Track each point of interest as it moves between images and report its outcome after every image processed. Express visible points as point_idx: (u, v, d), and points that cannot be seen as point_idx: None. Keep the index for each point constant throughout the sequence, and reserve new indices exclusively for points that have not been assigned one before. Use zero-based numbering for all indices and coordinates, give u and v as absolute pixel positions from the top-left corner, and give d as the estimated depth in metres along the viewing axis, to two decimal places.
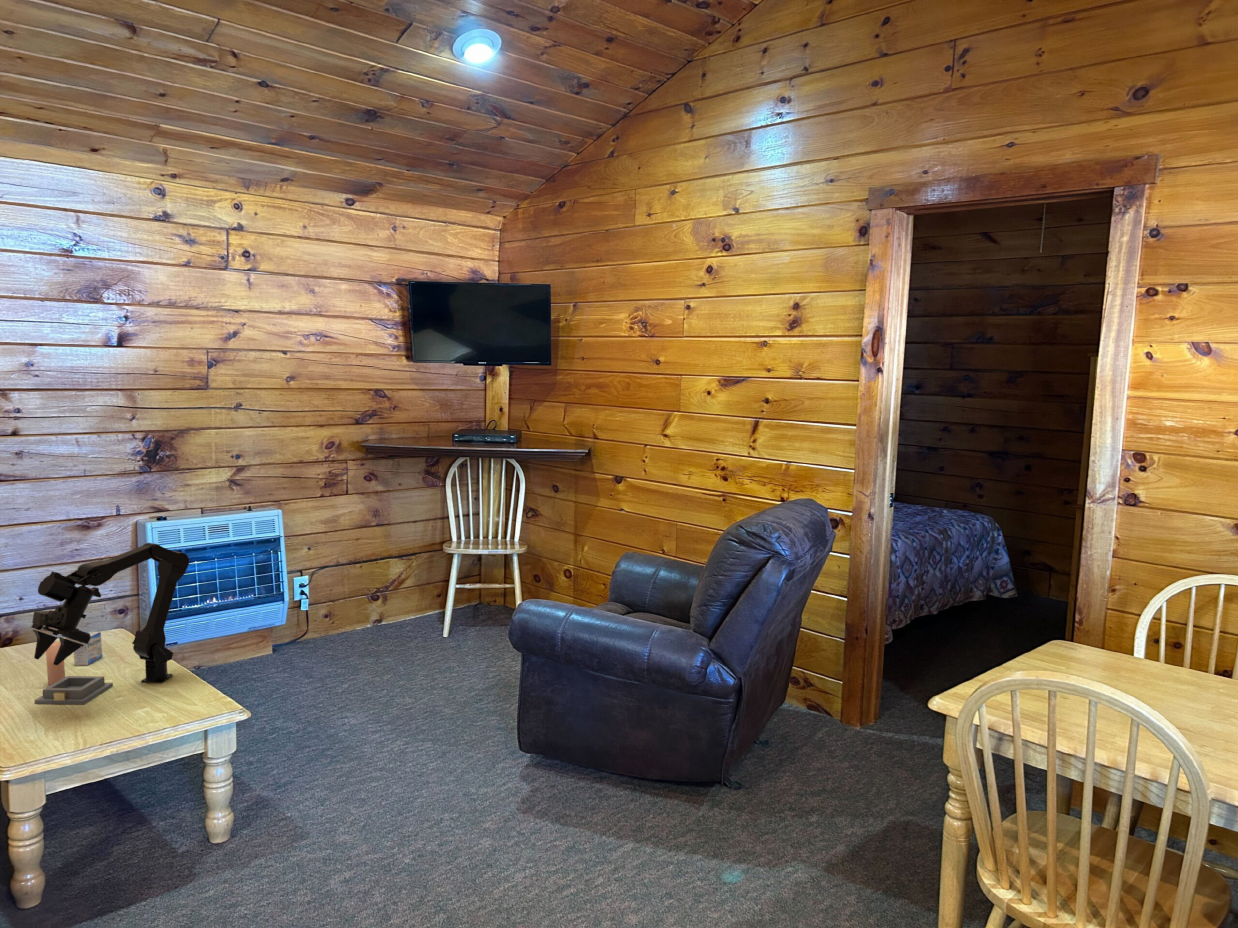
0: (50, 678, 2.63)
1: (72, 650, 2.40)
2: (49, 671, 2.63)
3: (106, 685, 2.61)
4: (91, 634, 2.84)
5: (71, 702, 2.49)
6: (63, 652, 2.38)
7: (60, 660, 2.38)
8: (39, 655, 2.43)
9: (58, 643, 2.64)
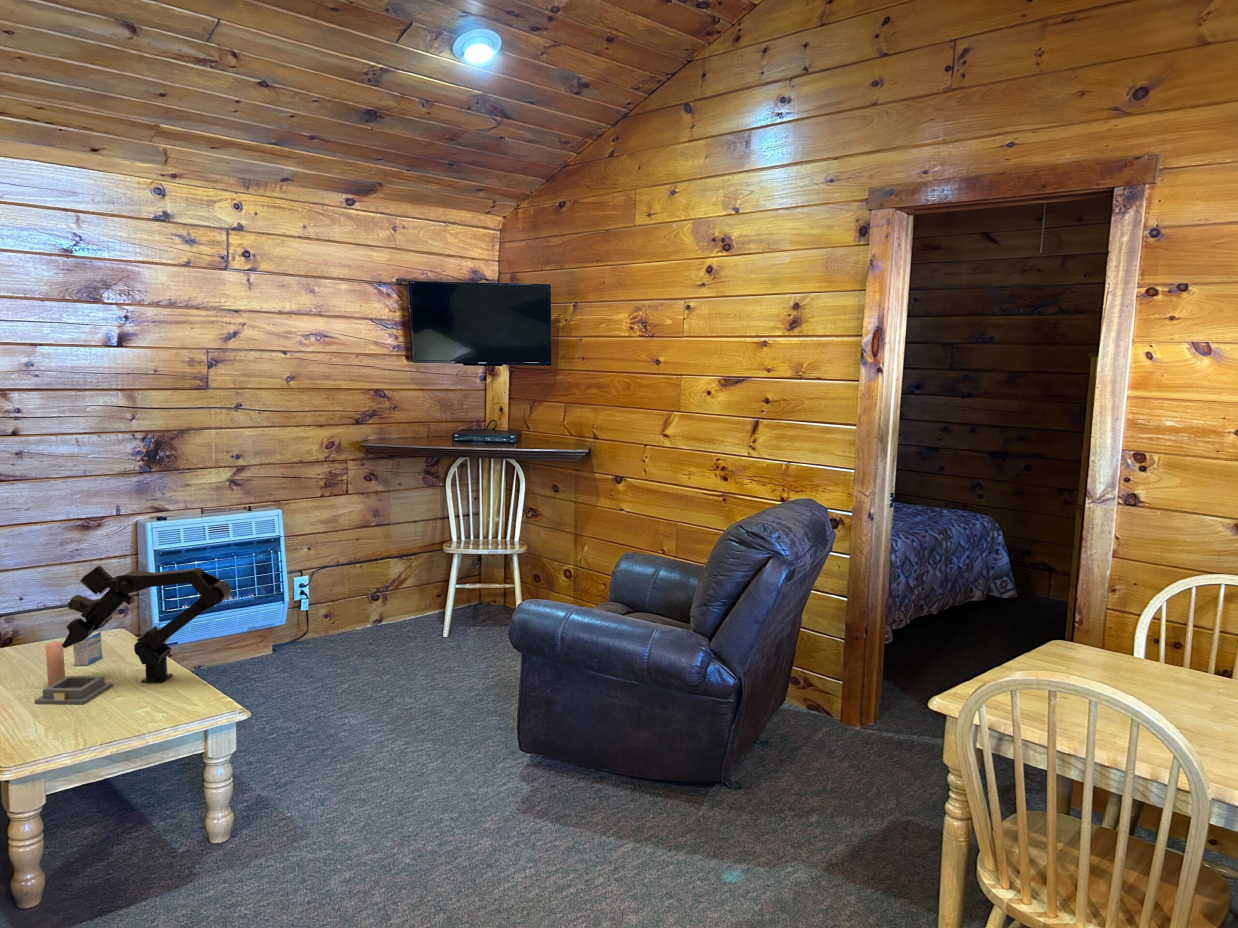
0: (50, 678, 2.63)
1: (76, 640, 2.59)
2: (49, 671, 2.63)
3: (106, 685, 2.61)
4: (91, 634, 2.84)
5: (71, 702, 2.49)
6: (69, 639, 2.59)
7: (66, 645, 2.59)
8: None
9: (58, 643, 2.64)
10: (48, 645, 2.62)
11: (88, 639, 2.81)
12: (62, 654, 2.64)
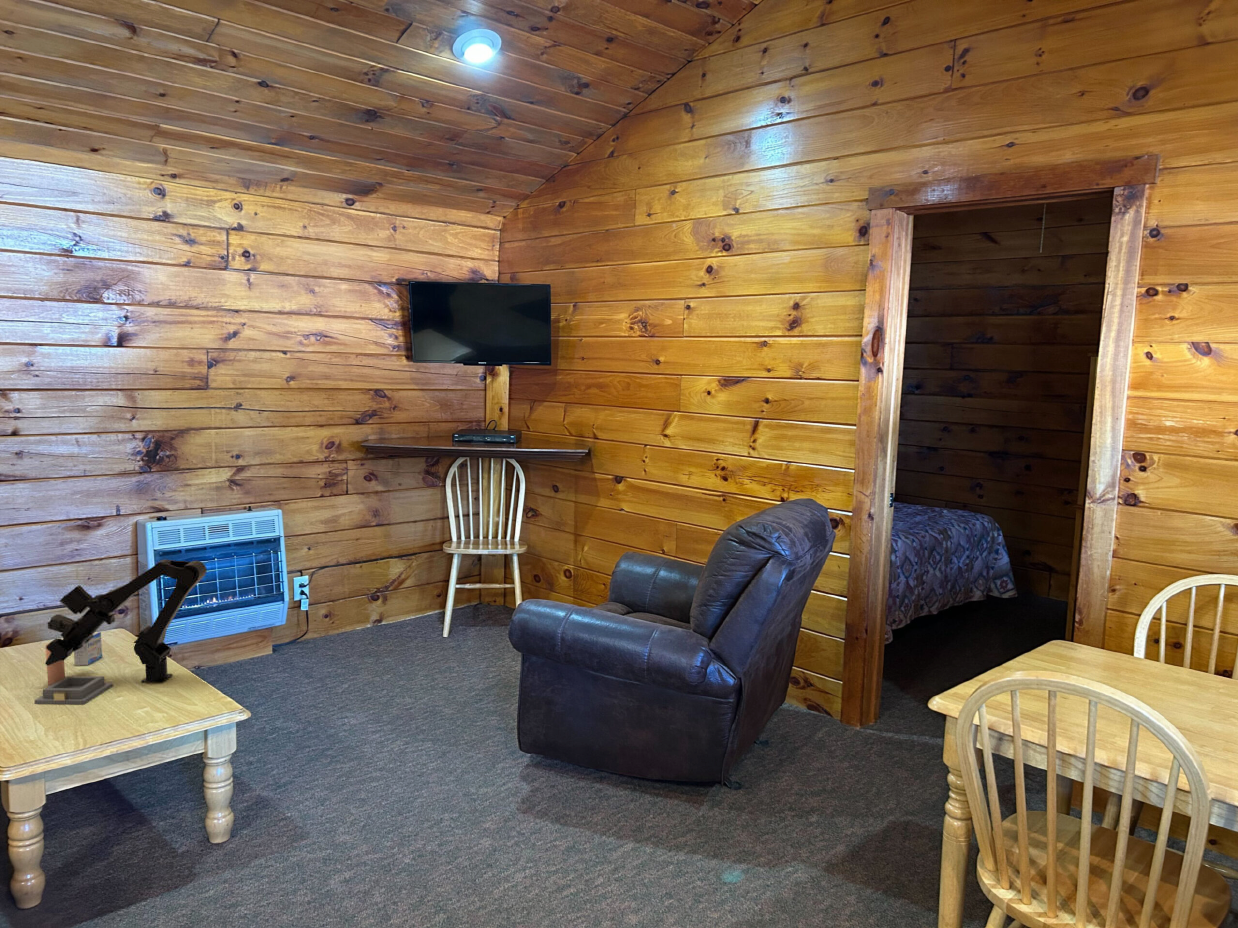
0: (50, 678, 2.63)
1: None
2: (49, 671, 2.63)
3: (106, 685, 2.61)
4: None
5: (71, 702, 2.49)
6: (52, 656, 2.61)
7: (50, 662, 2.61)
8: None
9: None
10: None
11: None
12: None
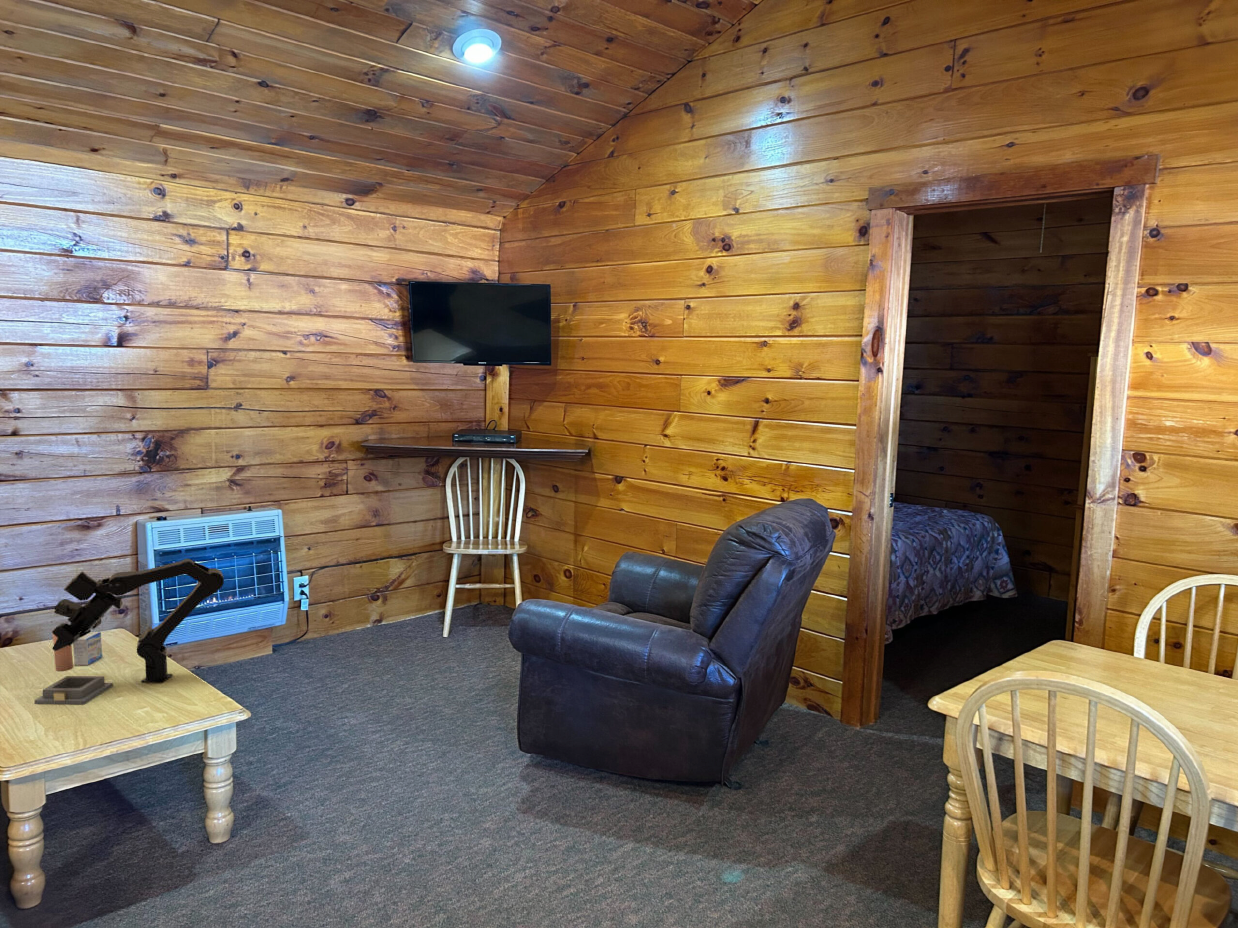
0: (58, 664, 2.58)
1: None
2: (56, 657, 2.58)
3: (106, 685, 2.61)
4: (91, 634, 2.84)
5: (71, 702, 2.49)
6: (59, 641, 2.56)
7: (57, 647, 2.57)
8: None
9: None
10: None
11: (88, 639, 2.81)
12: None
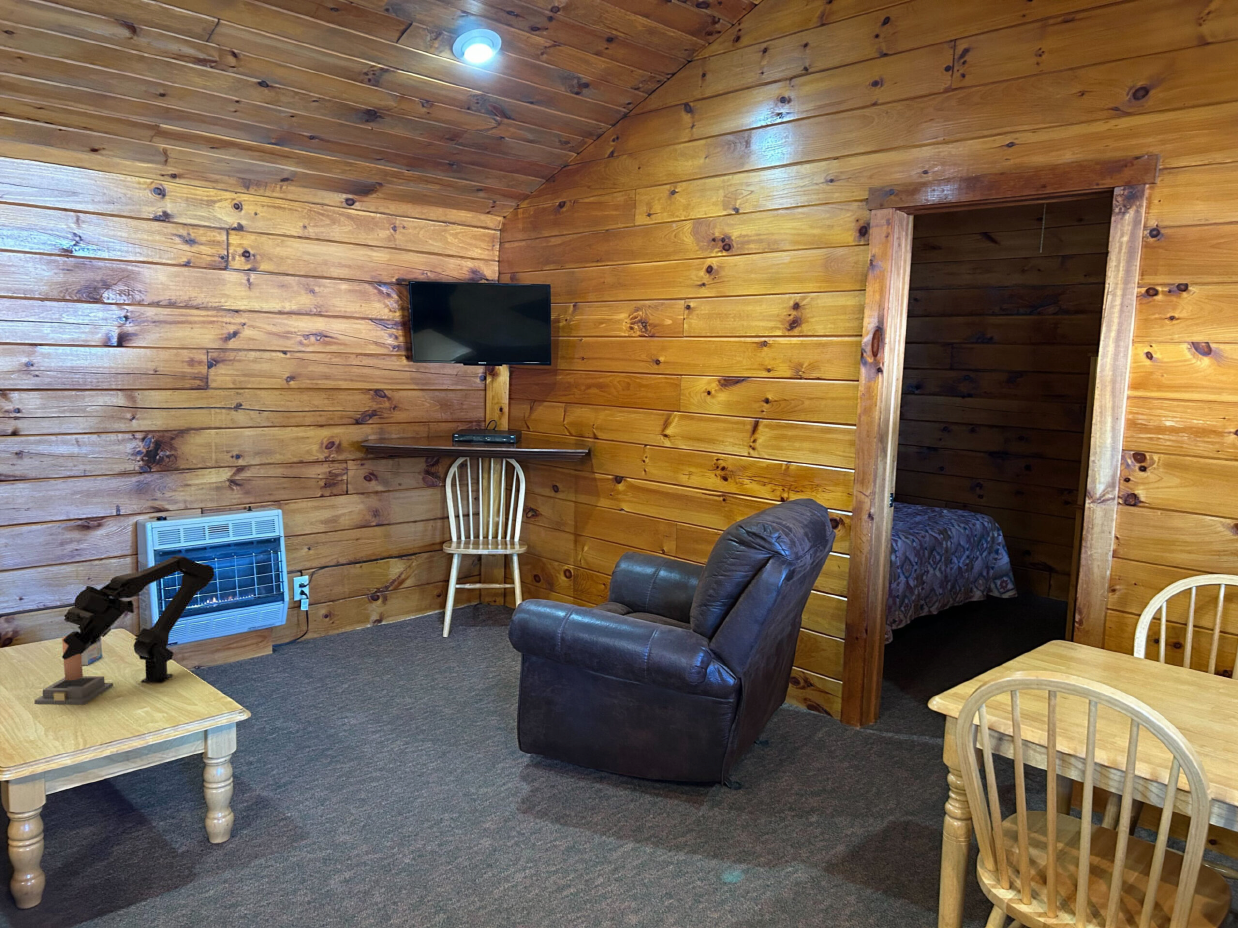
0: (67, 673, 2.53)
1: (77, 651, 2.51)
2: (66, 665, 2.53)
3: (106, 685, 2.61)
4: None
5: (71, 702, 2.49)
6: (69, 650, 2.51)
7: (67, 656, 2.52)
8: None
9: None
10: None
11: None
12: None
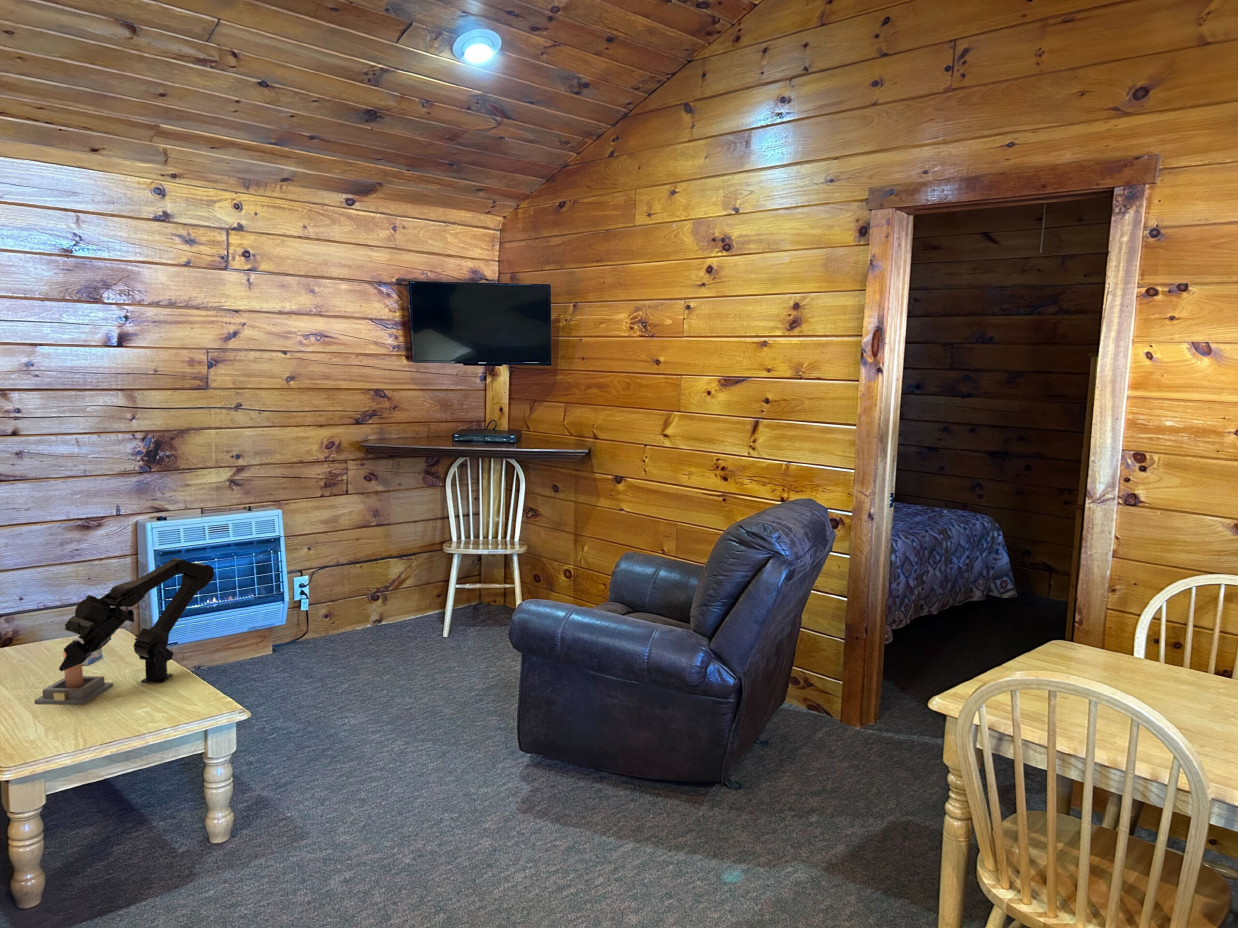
0: (68, 687, 2.54)
1: (74, 663, 2.49)
2: (67, 679, 2.53)
3: (106, 685, 2.61)
4: None
5: (71, 702, 2.49)
6: (66, 661, 2.49)
7: (64, 668, 2.50)
8: None
9: None
10: None
11: None
12: None
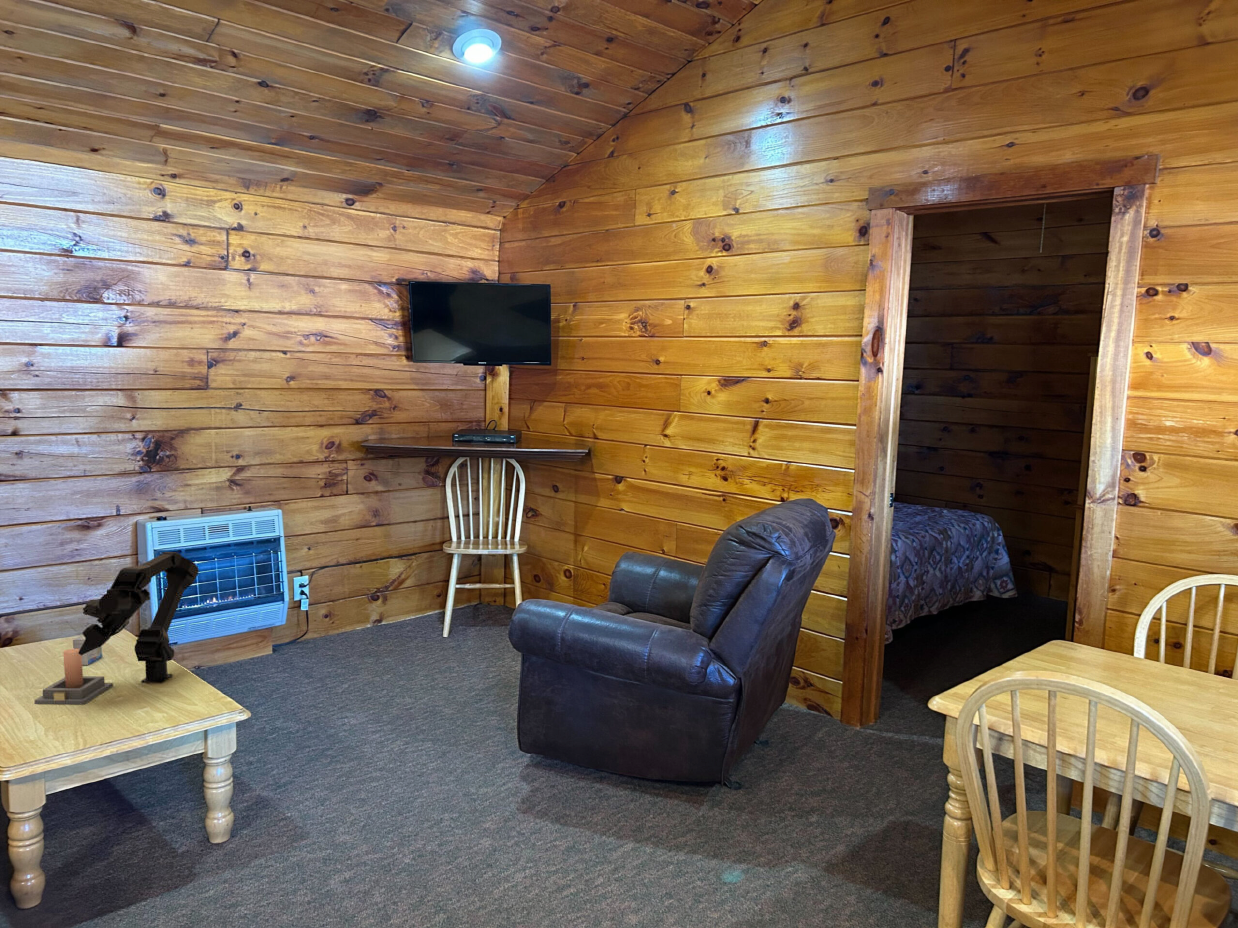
0: (68, 687, 2.54)
1: (93, 647, 2.50)
2: (67, 679, 2.53)
3: (106, 685, 2.61)
4: None
5: (71, 702, 2.49)
6: (85, 645, 2.50)
7: (83, 651, 2.50)
8: None
9: (76, 650, 2.55)
10: (66, 652, 2.53)
11: None
12: (80, 661, 2.55)
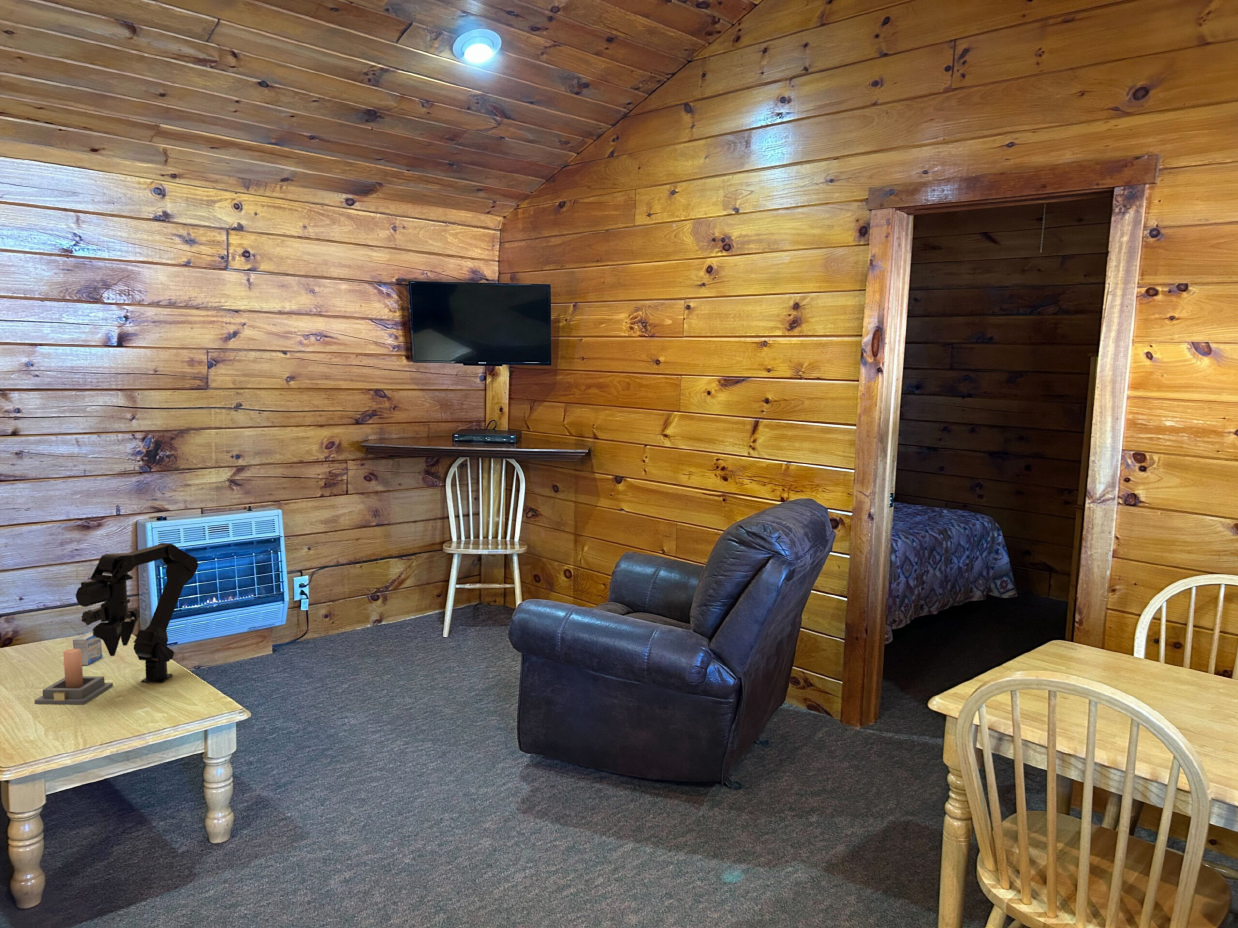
0: (68, 687, 2.54)
1: (115, 641, 2.49)
2: (67, 679, 2.53)
3: (106, 685, 2.61)
4: (91, 634, 2.84)
5: (71, 702, 2.49)
6: (109, 644, 2.49)
7: (112, 651, 2.50)
8: (125, 642, 2.60)
9: (76, 650, 2.55)
10: (66, 652, 2.53)
11: (88, 639, 2.81)
12: (80, 661, 2.55)
